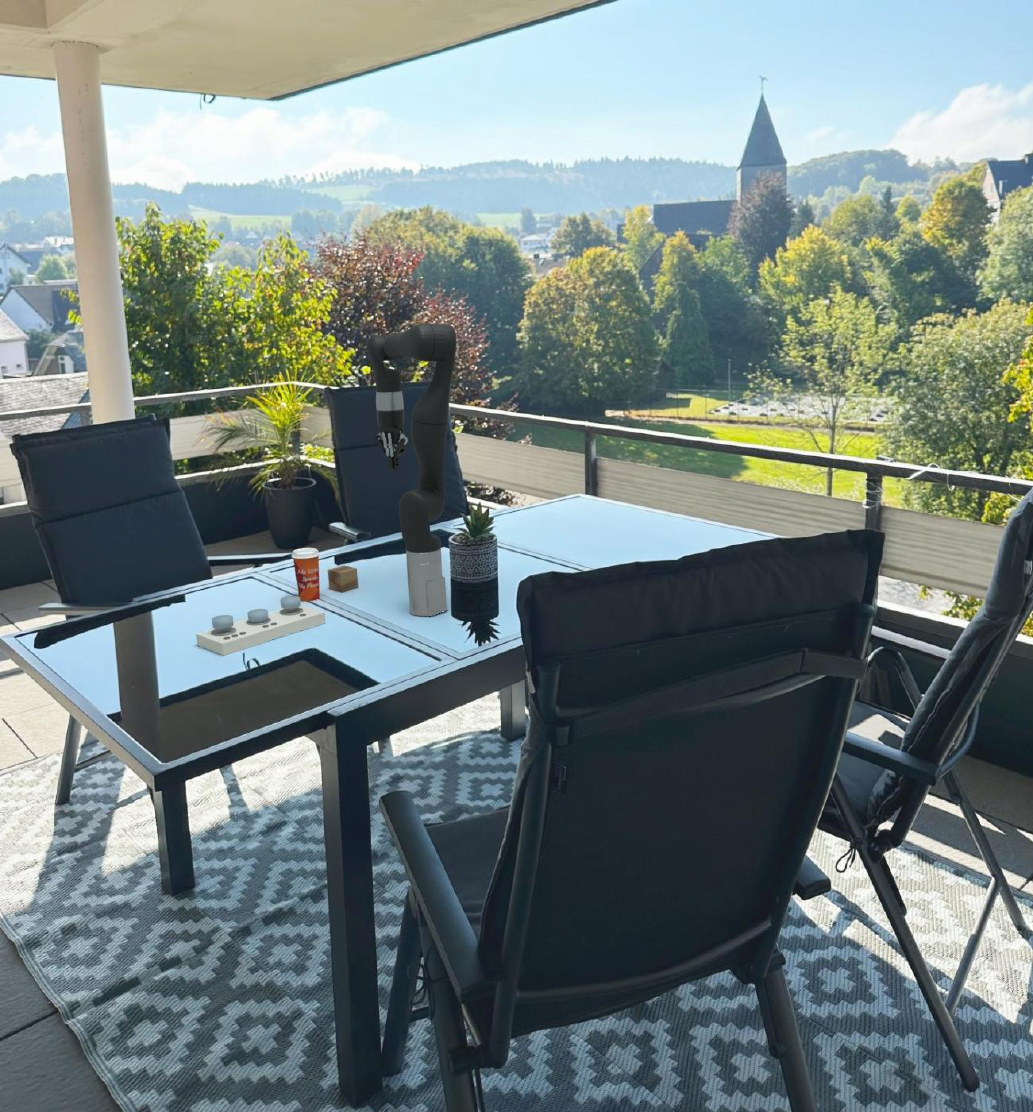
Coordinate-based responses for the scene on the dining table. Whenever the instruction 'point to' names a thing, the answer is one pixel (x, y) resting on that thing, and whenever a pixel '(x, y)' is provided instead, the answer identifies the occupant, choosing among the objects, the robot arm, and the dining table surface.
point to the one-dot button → (290, 602)
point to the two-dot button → (257, 615)
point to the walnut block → (343, 579)
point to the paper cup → (307, 573)
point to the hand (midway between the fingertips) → (393, 469)
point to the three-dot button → (222, 622)
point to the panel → (259, 630)
